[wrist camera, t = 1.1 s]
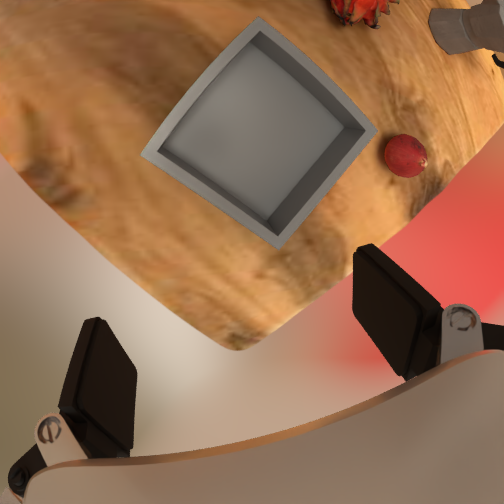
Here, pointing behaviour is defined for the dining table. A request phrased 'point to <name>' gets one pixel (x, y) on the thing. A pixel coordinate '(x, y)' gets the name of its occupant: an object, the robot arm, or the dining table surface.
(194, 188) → the charcoal bin
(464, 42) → the coffeepot
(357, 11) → the dragon fruit
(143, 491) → the robot arm
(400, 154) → the onion
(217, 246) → the dining table surface
